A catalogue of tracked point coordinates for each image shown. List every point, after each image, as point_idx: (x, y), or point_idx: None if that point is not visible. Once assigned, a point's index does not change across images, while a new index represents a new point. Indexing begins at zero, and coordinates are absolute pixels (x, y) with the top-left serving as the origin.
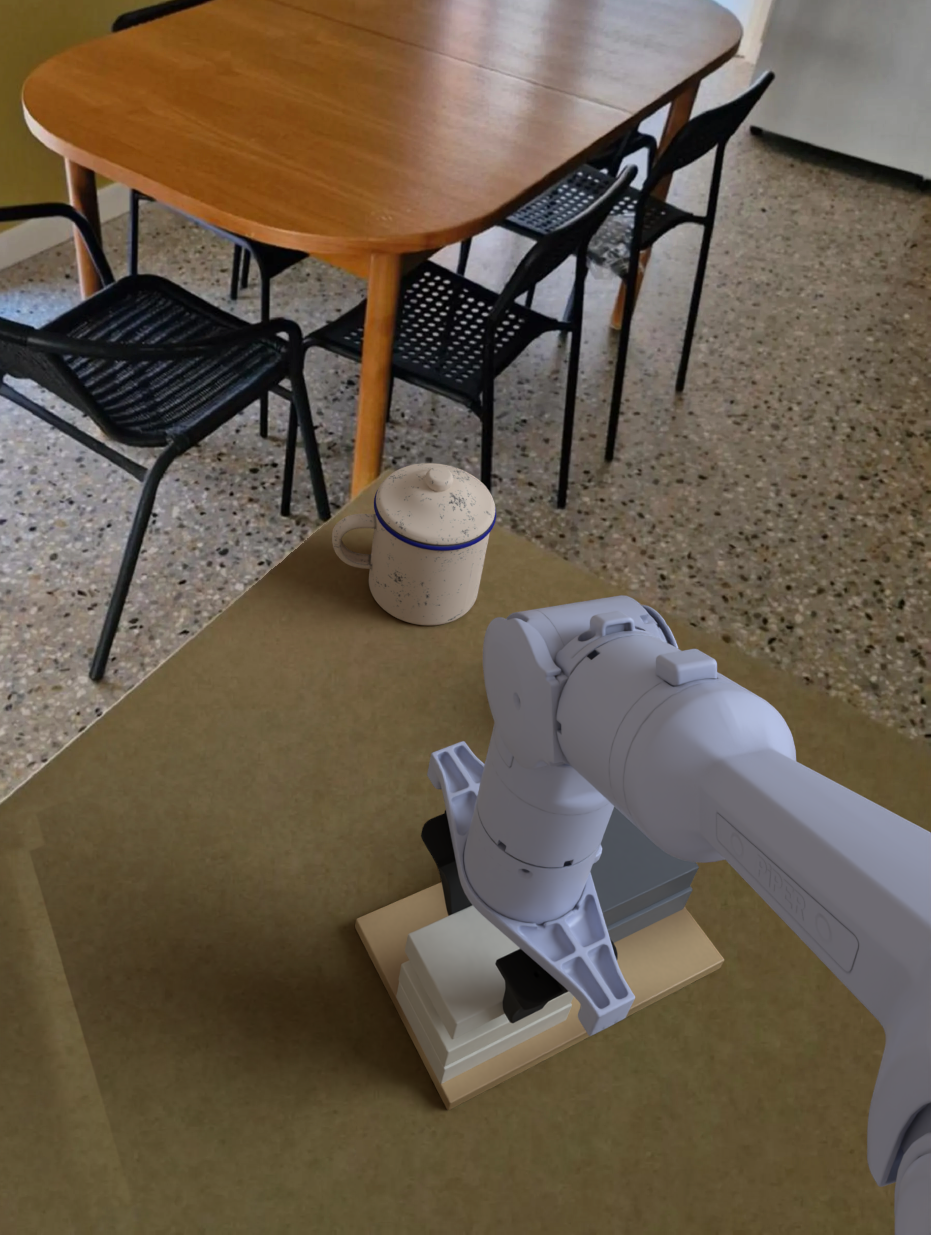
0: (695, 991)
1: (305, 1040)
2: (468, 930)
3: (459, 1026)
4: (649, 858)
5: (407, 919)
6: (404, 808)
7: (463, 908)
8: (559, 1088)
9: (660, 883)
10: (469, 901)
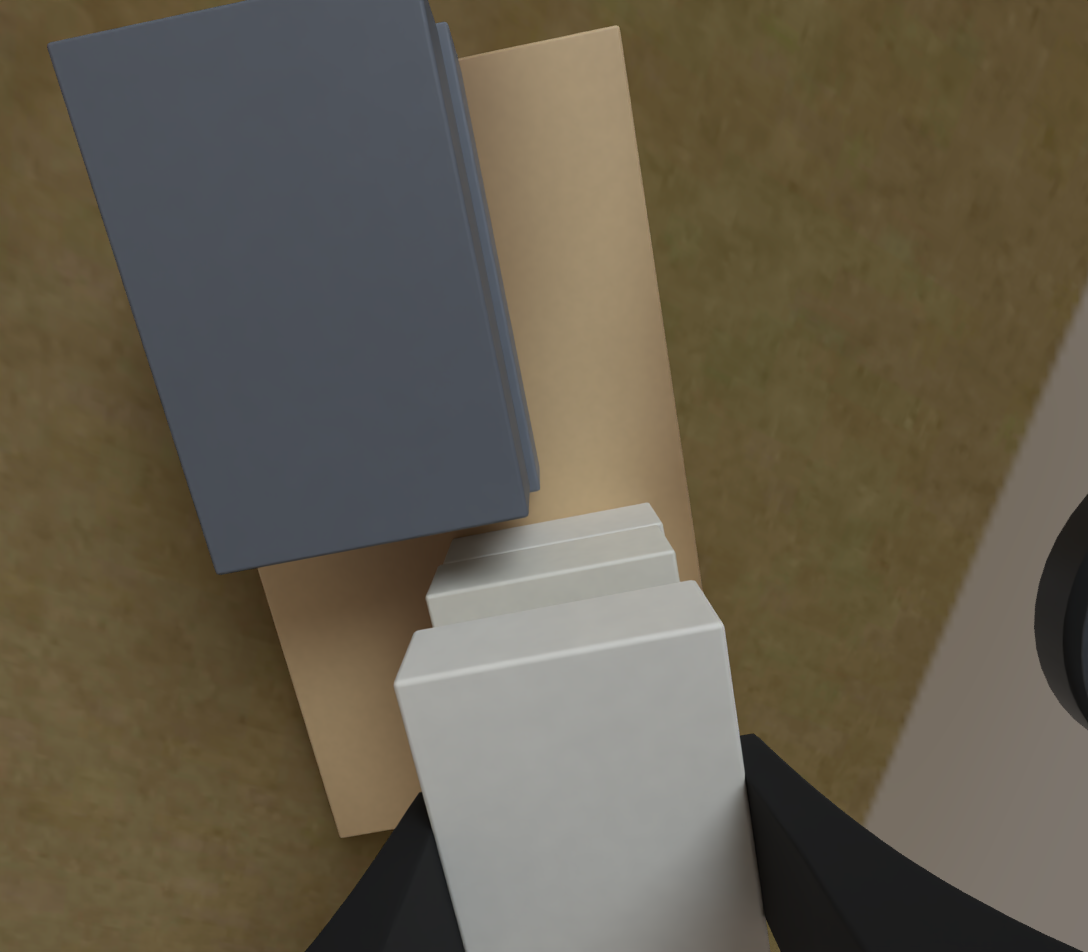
0: (648, 145)
1: None
2: (533, 944)
3: None
4: (350, 153)
5: (360, 746)
6: (80, 648)
7: (460, 939)
8: (745, 542)
9: (450, 161)
10: (450, 946)
